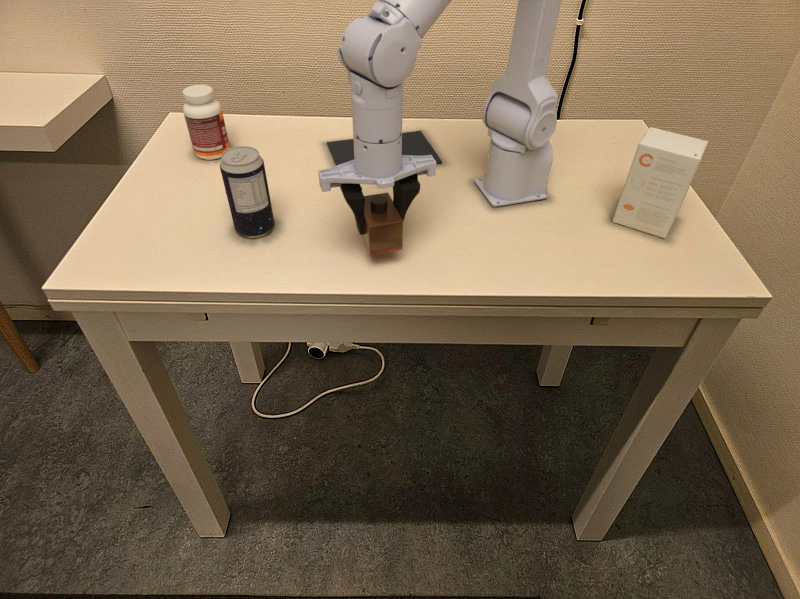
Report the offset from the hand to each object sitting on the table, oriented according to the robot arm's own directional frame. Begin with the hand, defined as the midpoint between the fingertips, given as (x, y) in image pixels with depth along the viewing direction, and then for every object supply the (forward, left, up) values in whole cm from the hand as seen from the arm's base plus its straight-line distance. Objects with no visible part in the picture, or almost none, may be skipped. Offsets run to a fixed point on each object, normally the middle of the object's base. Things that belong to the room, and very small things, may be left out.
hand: (378, 227), depth 71 cm
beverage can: (+16, -10, -5) cm, 19 cm away
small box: (-41, +3, -5) cm, 41 cm away
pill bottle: (+21, -35, -5) cm, 41 cm away
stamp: (0, 0, -2) cm, 2 cm away
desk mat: (-8, -27, -4) cm, 28 cm away
